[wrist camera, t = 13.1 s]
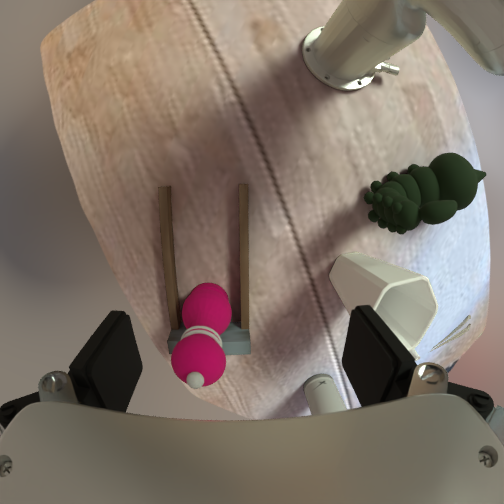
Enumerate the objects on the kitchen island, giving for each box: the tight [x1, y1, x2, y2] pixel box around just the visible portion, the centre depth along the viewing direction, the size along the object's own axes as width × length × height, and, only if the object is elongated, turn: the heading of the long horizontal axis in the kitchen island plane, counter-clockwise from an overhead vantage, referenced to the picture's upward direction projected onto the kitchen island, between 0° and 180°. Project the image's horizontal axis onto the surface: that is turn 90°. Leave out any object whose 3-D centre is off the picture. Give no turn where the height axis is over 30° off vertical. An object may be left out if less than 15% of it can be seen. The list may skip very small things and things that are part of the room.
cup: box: [329, 252, 438, 351], centre depth 35 cm, size 11×10×17 cm
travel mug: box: [304, 374, 347, 415], centre depth 40 cm, size 6×7×20 cm
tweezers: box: [430, 315, 471, 352], centre depth 50 cm, size 18×5×2 cm, turn 115°
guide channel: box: [158, 184, 251, 355], centre depth 39 cm, size 12×24×6 cm, turn 0°
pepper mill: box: [171, 283, 232, 389], centre depth 33 cm, size 7×7×20 cm
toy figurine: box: [364, 153, 486, 234], centre depth 32 cm, size 9×19×25 cm
